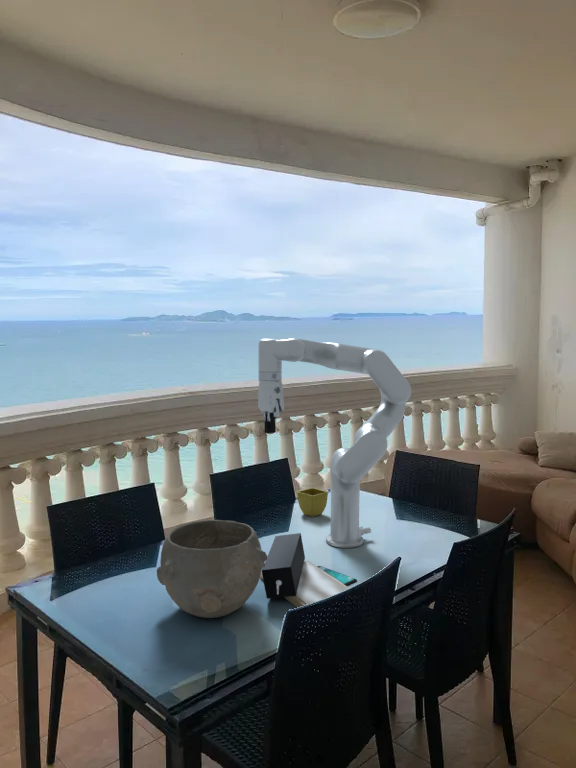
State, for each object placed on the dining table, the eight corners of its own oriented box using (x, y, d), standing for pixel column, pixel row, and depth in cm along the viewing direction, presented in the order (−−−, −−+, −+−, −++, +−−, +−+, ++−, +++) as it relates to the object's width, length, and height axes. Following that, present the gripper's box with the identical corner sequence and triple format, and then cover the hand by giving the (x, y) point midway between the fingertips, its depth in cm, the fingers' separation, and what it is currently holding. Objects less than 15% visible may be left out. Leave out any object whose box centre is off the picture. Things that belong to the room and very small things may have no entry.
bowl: (254, 641, 141) (253, 556, 139) (138, 628, 146) (136, 546, 145) (279, 591, 167) (279, 519, 165) (180, 582, 173) (179, 512, 171)
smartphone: (319, 565, 185) (358, 579, 174) (319, 567, 185) (358, 582, 174) (302, 571, 180) (342, 587, 169) (302, 574, 180) (342, 589, 169)
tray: (307, 567, 184) (307, 559, 184) (362, 604, 160) (362, 595, 159) (259, 577, 176) (259, 569, 176) (309, 617, 152) (309, 608, 152)
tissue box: (279, 560, 185) (264, 604, 157) (275, 535, 184) (259, 575, 156) (305, 557, 184) (294, 601, 156) (300, 532, 183) (289, 572, 155)
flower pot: (296, 514, 236) (296, 491, 235) (312, 509, 242) (312, 487, 241) (312, 519, 230) (312, 496, 229) (328, 514, 236) (328, 491, 235)
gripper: (291, 378, 195) (291, 435, 197) (269, 374, 208) (269, 428, 210) (271, 379, 191) (271, 437, 193) (249, 375, 204) (249, 430, 206)
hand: (270, 432), depth 201 cm, fingers closed
